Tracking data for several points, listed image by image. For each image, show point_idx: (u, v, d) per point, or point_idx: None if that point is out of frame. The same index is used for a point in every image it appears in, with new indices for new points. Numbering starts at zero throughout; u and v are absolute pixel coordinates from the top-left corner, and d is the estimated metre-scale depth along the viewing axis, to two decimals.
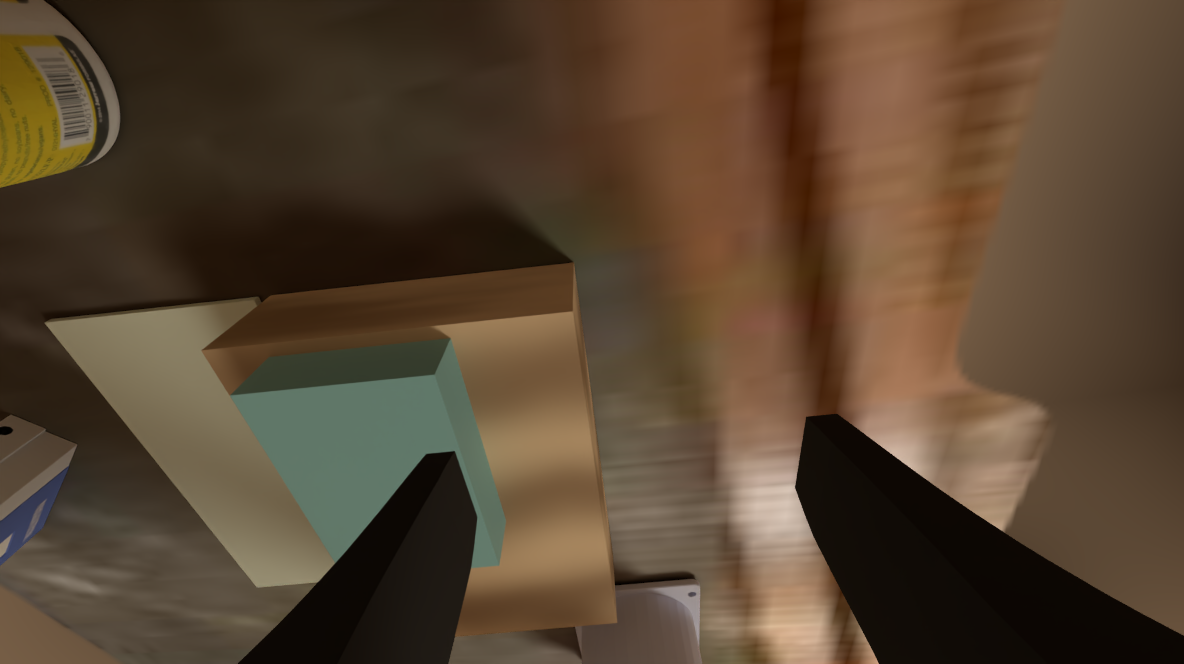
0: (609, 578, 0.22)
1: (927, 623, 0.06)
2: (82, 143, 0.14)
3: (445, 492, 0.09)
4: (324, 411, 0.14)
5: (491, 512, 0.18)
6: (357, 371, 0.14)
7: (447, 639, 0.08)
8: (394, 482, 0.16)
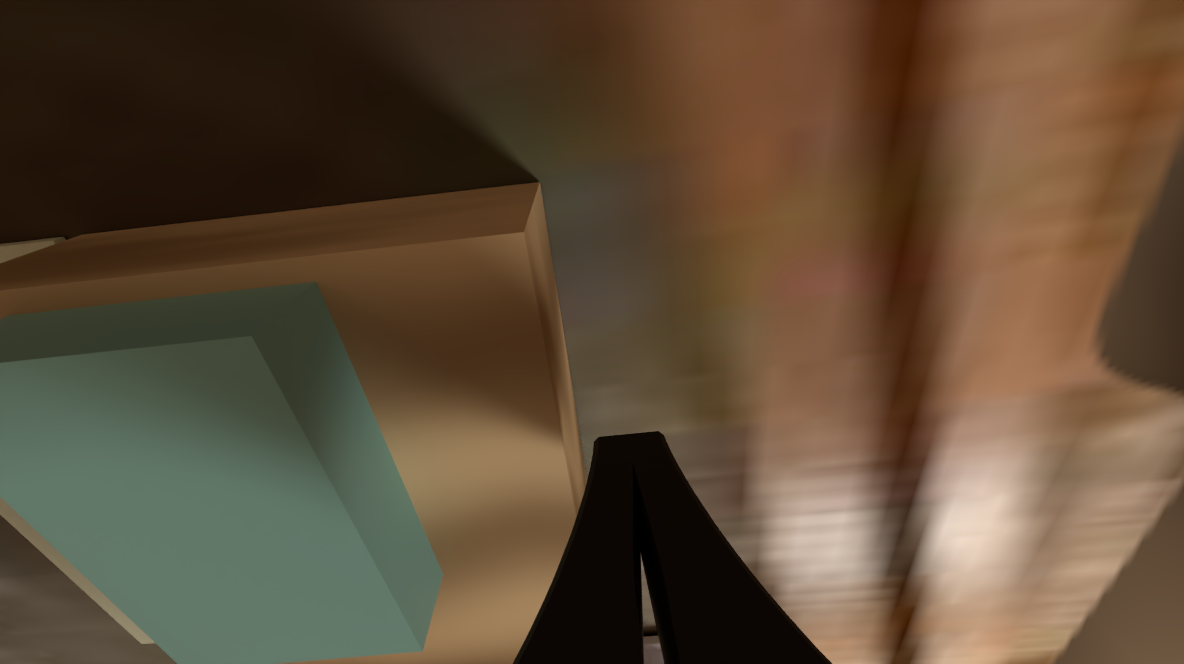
0: None
1: (669, 644, 0.07)
2: None
3: (633, 474, 0.09)
4: (64, 407, 0.08)
5: (409, 569, 0.11)
6: (124, 333, 0.08)
7: (642, 623, 0.08)
8: (225, 529, 0.09)
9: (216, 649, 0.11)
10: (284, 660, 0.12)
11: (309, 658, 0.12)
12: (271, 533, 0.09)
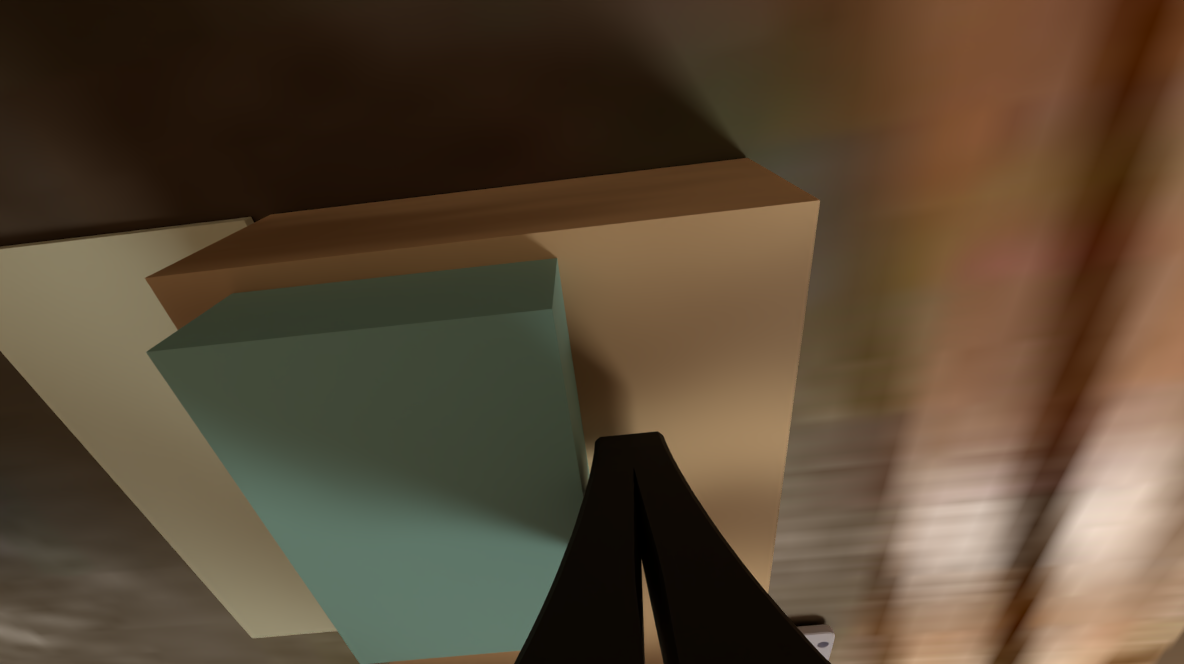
0: None
1: (668, 644, 0.07)
2: None
3: None
4: (332, 386, 0.07)
5: None
6: (395, 308, 0.07)
7: (643, 622, 0.08)
8: (452, 515, 0.09)
9: (399, 641, 0.11)
10: (464, 652, 0.11)
11: (490, 650, 0.11)
12: (498, 519, 0.09)
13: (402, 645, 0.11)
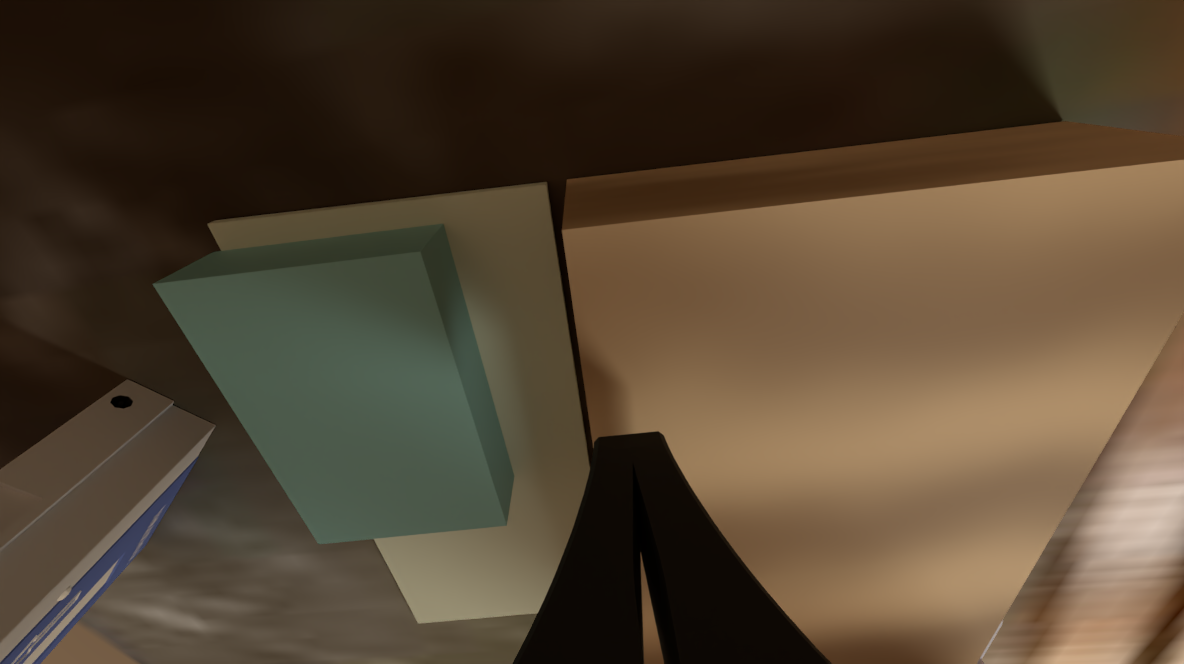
0: (999, 621, 0.15)
1: (669, 645, 0.07)
2: None
3: (633, 474, 0.09)
4: None
5: None
6: (295, 248, 0.11)
7: (642, 623, 0.08)
8: None
9: None
10: None
11: None
12: None
13: None
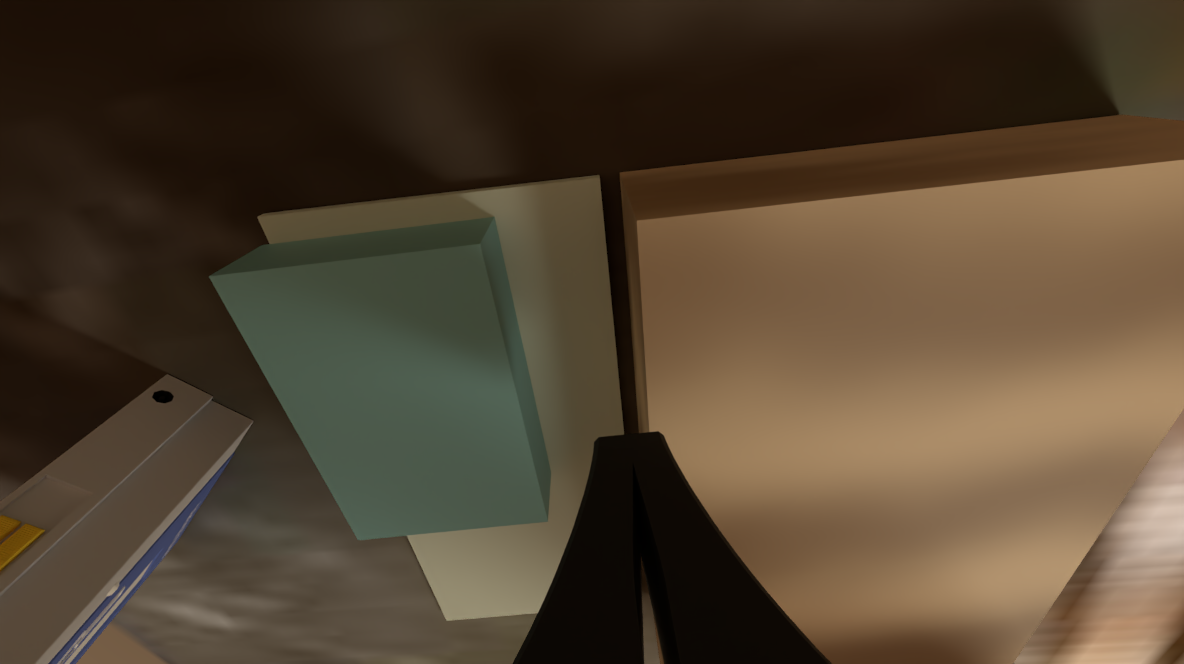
0: (1040, 618, 0.15)
1: (669, 644, 0.07)
2: None
3: None
4: None
5: None
6: (347, 241, 0.11)
7: (641, 623, 0.08)
8: None
9: None
10: None
11: None
12: None
13: None
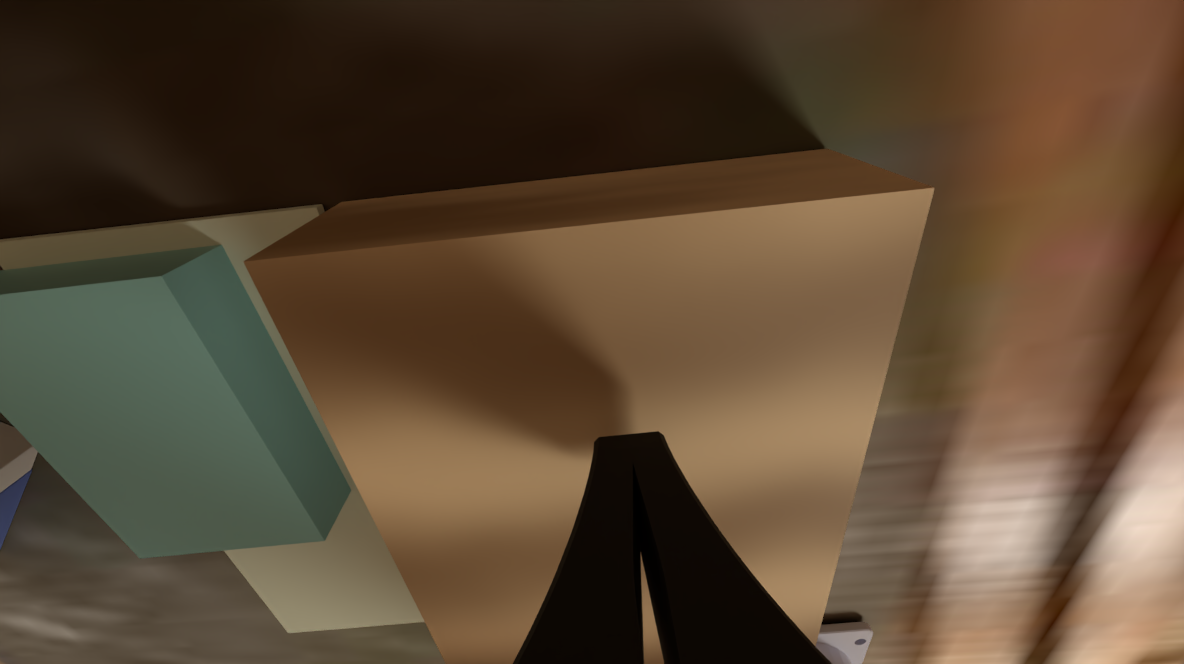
0: (815, 637, 0.15)
1: (669, 644, 0.07)
2: None
3: (633, 474, 0.09)
4: None
5: None
6: (67, 269, 0.12)
7: (642, 623, 0.08)
8: None
9: None
10: None
11: None
12: None
13: None
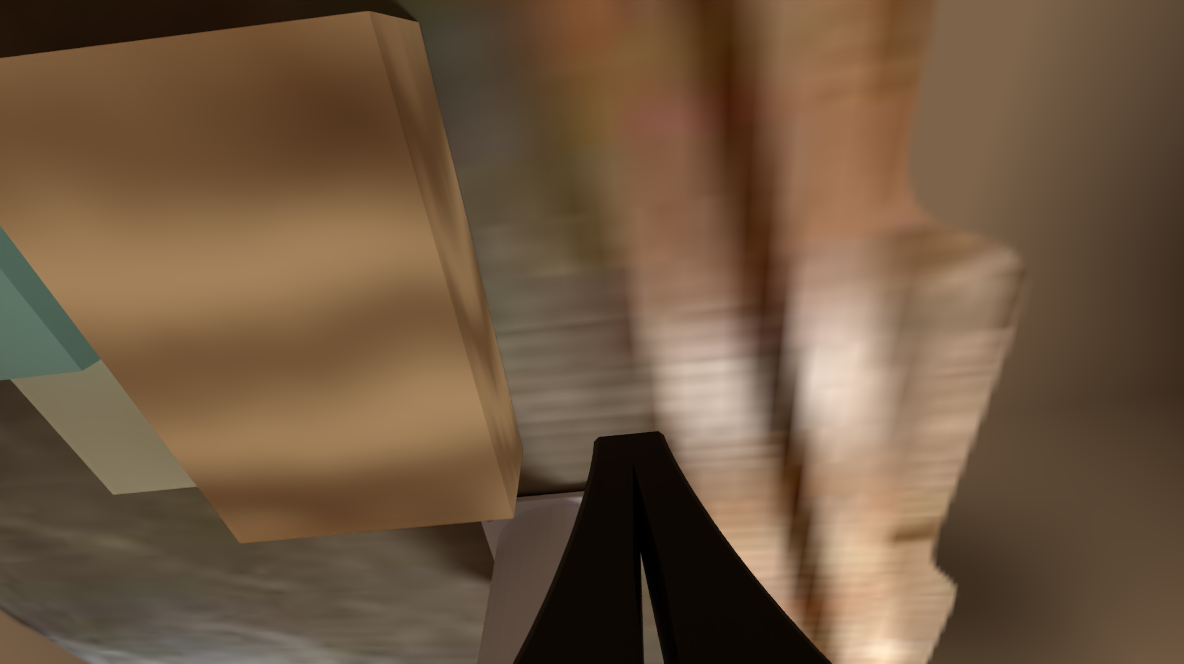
0: (493, 452, 0.18)
1: (669, 644, 0.07)
2: None
3: (633, 474, 0.09)
4: None
5: None
6: None
7: (642, 623, 0.08)
8: None
9: None
10: None
11: None
12: None
13: None
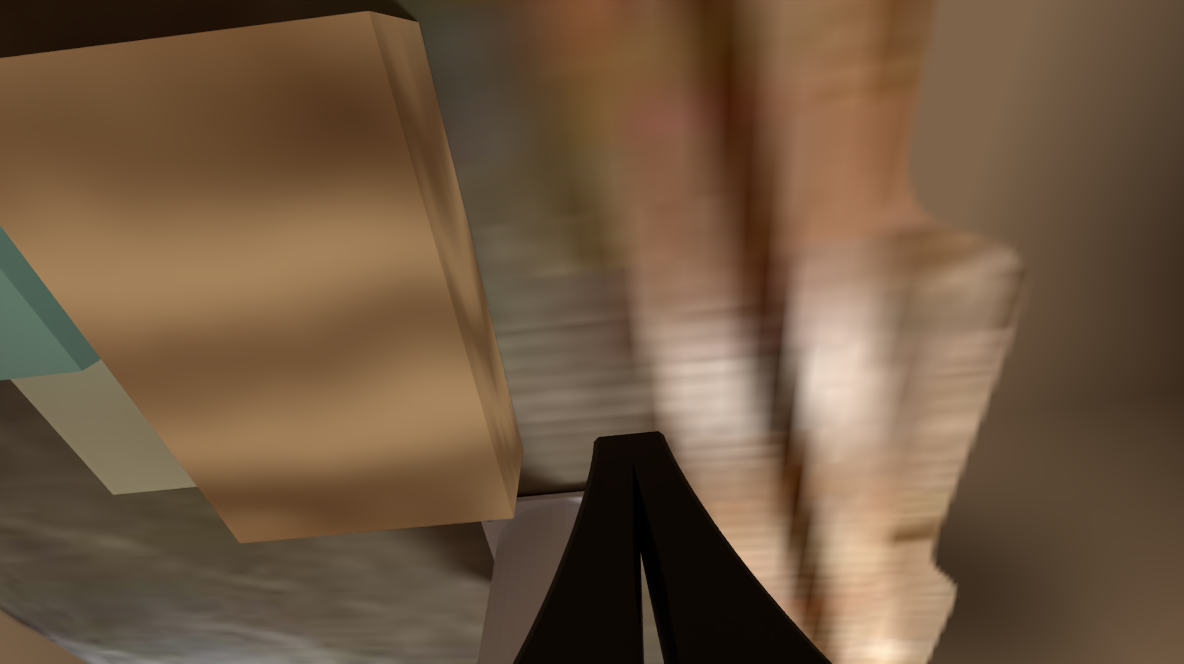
0: (493, 452, 0.18)
1: (669, 644, 0.07)
2: None
3: (633, 474, 0.09)
4: None
5: None
6: None
7: (642, 623, 0.08)
8: None
9: None
10: None
11: None
12: None
13: None
